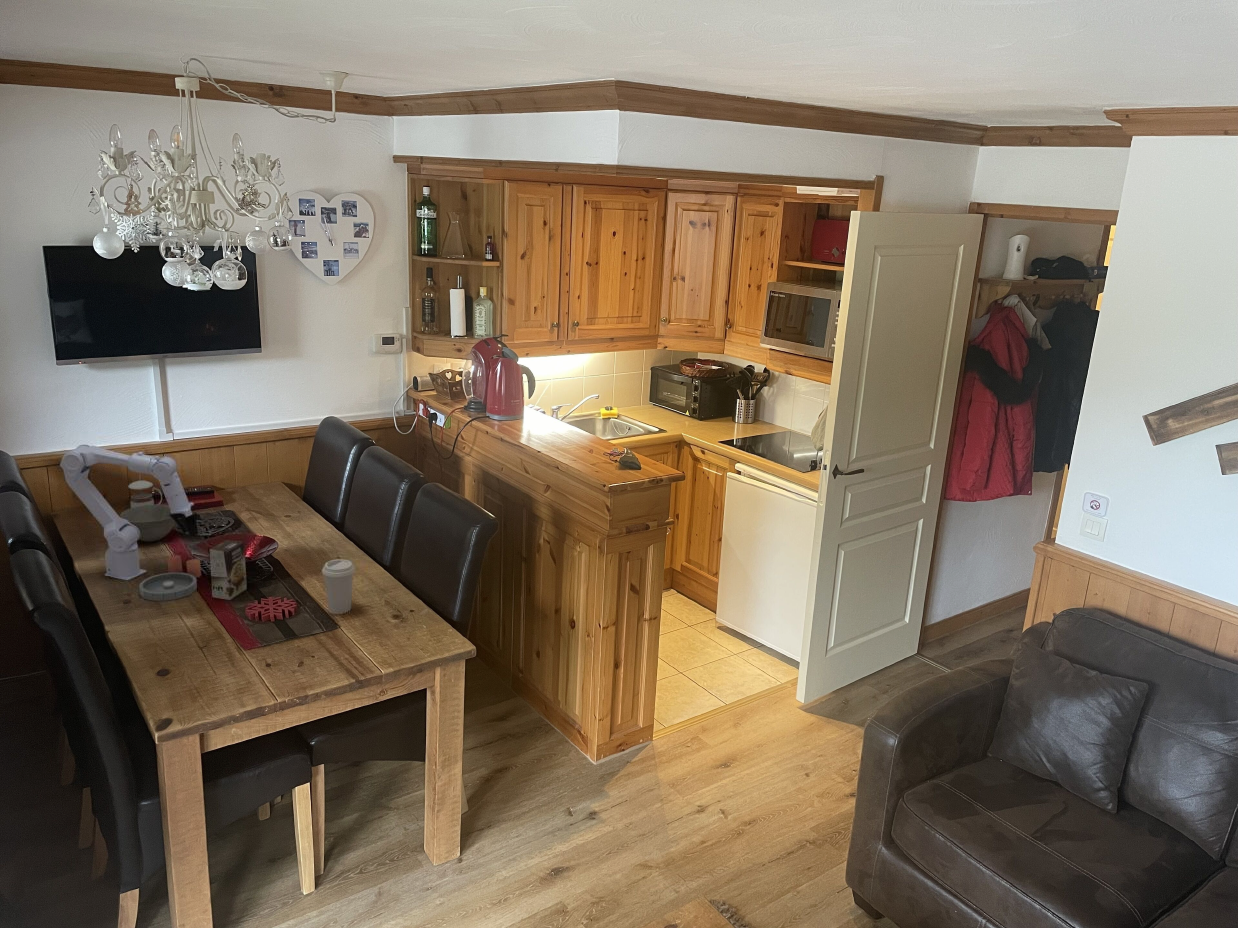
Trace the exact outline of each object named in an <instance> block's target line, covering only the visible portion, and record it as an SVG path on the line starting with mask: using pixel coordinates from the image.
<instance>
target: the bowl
mask: <svg viewBox="0 0 1238 928" xmlns="http://www.w3.org/2000/svg"><path fill="white" fill-rule="evenodd" d="M170 514H173V513H171V512H170V507H169V505H168V504H160V505H159V504H158V505H157V504H154V505H145V506H139V507H134V508H131V507H130V508H128V509H127V508H126V510H124V511H122V512H121V513H120V514H119V517H120V518H123V519H126V520H128V522H129V523H130V524H132V525H134V526H136V527H137V528H138V529H139V531H140V537H139V539H138V540H140V541H141V542H147V543H151V542H155V541H156V542H157V541H158V540H161V539H163V538H164V537H166V536H167V535H168V534H169V533H170V532H171V530H173V527H174V526H175V523H176V522H175V521H174V520H173V519H172V518H171V517H170V516H169V515H170Z"/></svg>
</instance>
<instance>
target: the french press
mask: <svg viewBox="0 0 1238 928" xmlns="http://www.w3.org/2000/svg"><path fill="white" fill-rule="evenodd" d="M138 474H139V475H138V476H139V477H141V473H140V472H138ZM127 486H128V489H131V490H135V491H140V492H138V493H137V492H136V493H134V494H131V496H130V498H131V499H130V501H129V502H130V508H134V507H139V506H145V505H155V500H154V497H153V494H152V493H154V490H155V491H157V492H158V493H159V494H160V501H159V502H158V503H157V504H156V505H162V504H161V503H162V502H163V493H162V492H161V490H160V489H159V488H157V487H155V486H154V485H153V483H152V482H150V481H147V480H141V478H139V480H136V481H132V482H131V483H129V484H128V485H127ZM147 489H152V491H151V492H142V490H147Z"/></svg>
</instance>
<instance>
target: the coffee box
mask: <svg viewBox="0 0 1238 928" xmlns="http://www.w3.org/2000/svg"><path fill="white" fill-rule="evenodd" d="M245 550H246V549H245V542H244V541H239V540H229V539H226V540H224V541H222V542H220V543H218V544H217V545H214V546H213V547H211V548H209V561H210V563H209V564H210V578H211V579H210V580H211V595H212V598H216V599H221V600H228V601H230V600H233V599H234V598H235V597H237V596H238V595H239V594H241V593H242V592H244V591H246V590H247V586H248V585H247V571H246V552H245Z"/></svg>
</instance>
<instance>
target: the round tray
mask: <svg viewBox="0 0 1238 928" xmlns="http://www.w3.org/2000/svg"><path fill="white" fill-rule="evenodd" d="M197 581H198V580H197V578H196V577H195V576H193V575H191V574H187V572H181V573H176V572H173V573H169V572H166V573H159V574H156V575H152V576H150V577H147V578H145V579H144V580H142V581H141V582H140V583H139V584H138V586H139V594H140V597H141V598H143V599H145V600H147V601H153V602H167V601H174V600H175V601H176V600H178V599H182V598H185V597H189V596H190V595H192V594H193V593H195V592H196V591H197V588H198V586H197V585H198V582H197Z"/></svg>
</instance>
